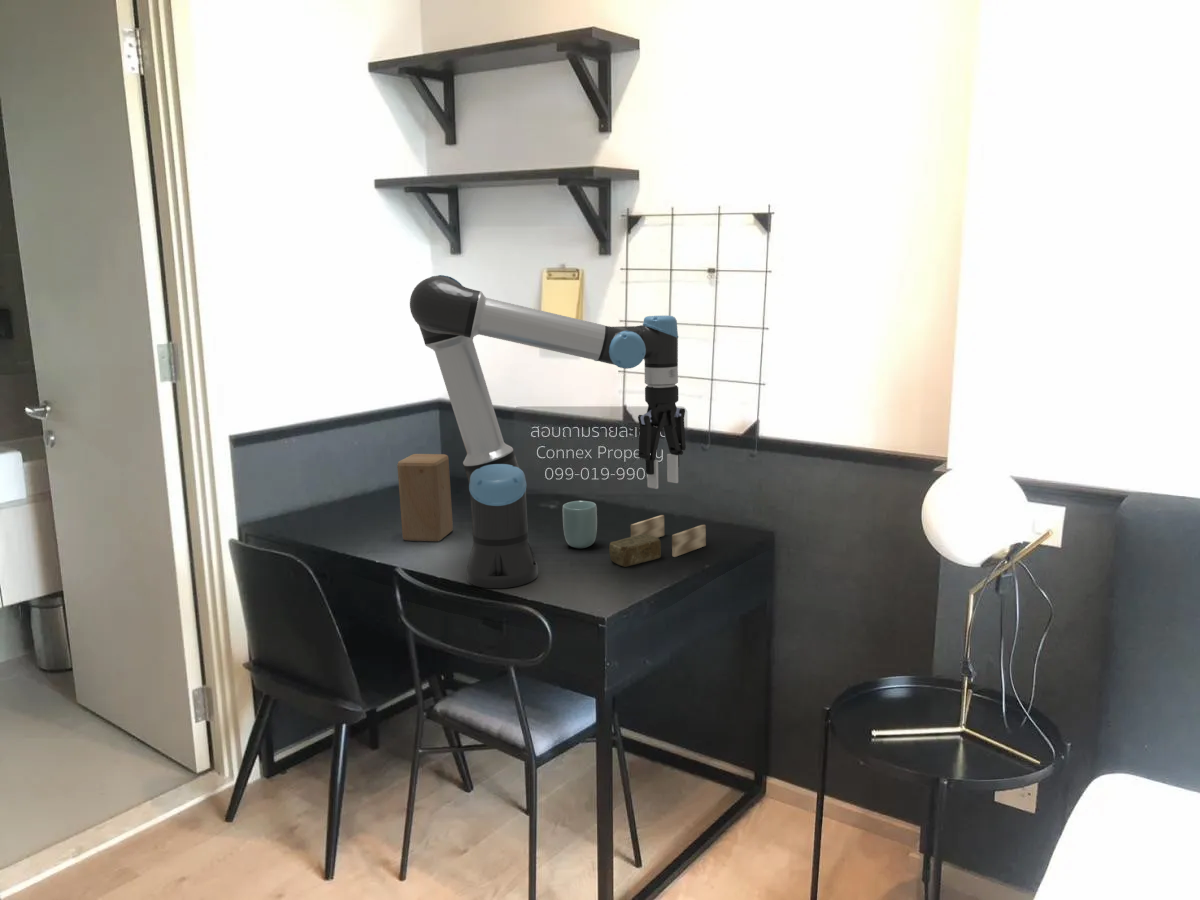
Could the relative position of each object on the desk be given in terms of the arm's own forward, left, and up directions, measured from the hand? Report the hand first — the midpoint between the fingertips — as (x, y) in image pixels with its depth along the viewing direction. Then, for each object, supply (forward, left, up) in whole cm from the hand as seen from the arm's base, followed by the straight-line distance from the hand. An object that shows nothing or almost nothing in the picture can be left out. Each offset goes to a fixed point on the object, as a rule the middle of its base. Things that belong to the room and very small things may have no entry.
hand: (663, 484), depth 211 cm
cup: (-12, +15, -15) cm, 25 cm away
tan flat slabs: (+2, 0, -15) cm, 15 cm away
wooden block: (-31, +50, -15) cm, 61 cm away
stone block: (-11, -1, -15) cm, 19 cm away
